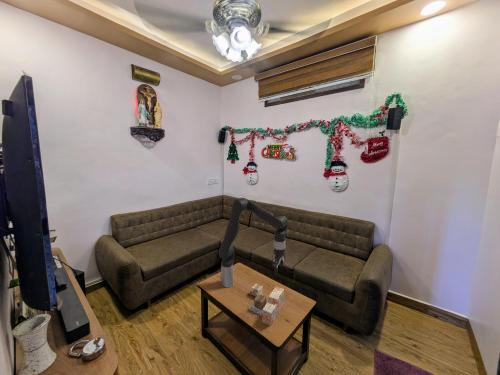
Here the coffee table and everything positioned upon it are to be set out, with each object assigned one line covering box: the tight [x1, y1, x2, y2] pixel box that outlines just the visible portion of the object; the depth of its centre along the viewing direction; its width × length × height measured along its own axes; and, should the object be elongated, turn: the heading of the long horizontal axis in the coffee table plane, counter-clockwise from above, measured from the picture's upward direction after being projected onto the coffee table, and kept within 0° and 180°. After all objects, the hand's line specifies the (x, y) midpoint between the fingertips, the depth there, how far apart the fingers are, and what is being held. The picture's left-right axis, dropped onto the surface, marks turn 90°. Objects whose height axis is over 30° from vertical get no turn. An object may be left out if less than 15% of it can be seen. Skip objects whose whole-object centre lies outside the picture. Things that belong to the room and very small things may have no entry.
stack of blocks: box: [261, 286, 285, 326], centre depth 137 cm, size 21×6×12 cm, turn 150°
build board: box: [248, 301, 268, 317], centre depth 143 cm, size 11×12×1 cm
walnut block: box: [253, 294, 267, 310], centre depth 142 cm, size 6×6×6 cm
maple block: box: [251, 283, 264, 298], centre depth 156 cm, size 6×6×6 cm
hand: (278, 269), depth 137 cm, fingers open, 8 cm apart
